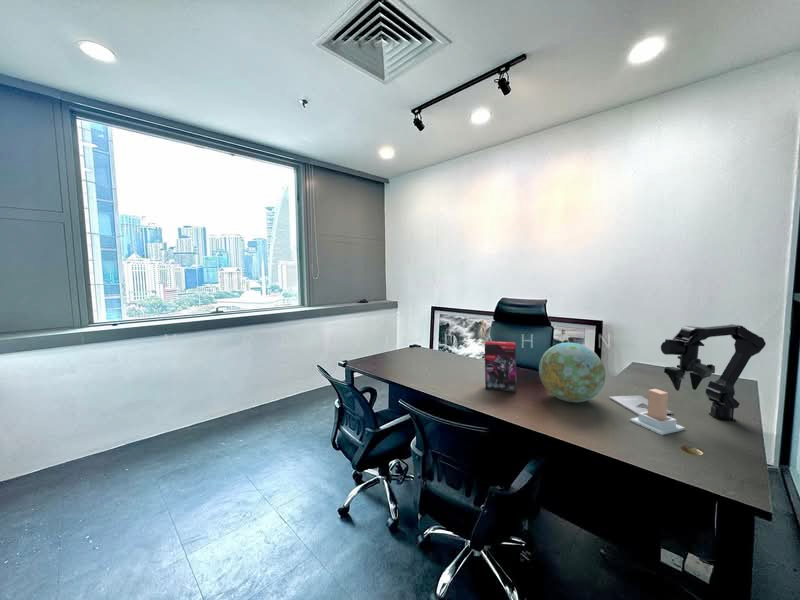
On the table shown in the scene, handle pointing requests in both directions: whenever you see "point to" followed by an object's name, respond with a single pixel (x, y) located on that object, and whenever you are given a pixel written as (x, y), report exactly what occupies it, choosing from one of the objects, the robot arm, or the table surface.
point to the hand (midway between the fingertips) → (685, 390)
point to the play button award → (633, 403)
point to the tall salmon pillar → (657, 404)
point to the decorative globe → (572, 372)
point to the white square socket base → (657, 424)
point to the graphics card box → (500, 366)
